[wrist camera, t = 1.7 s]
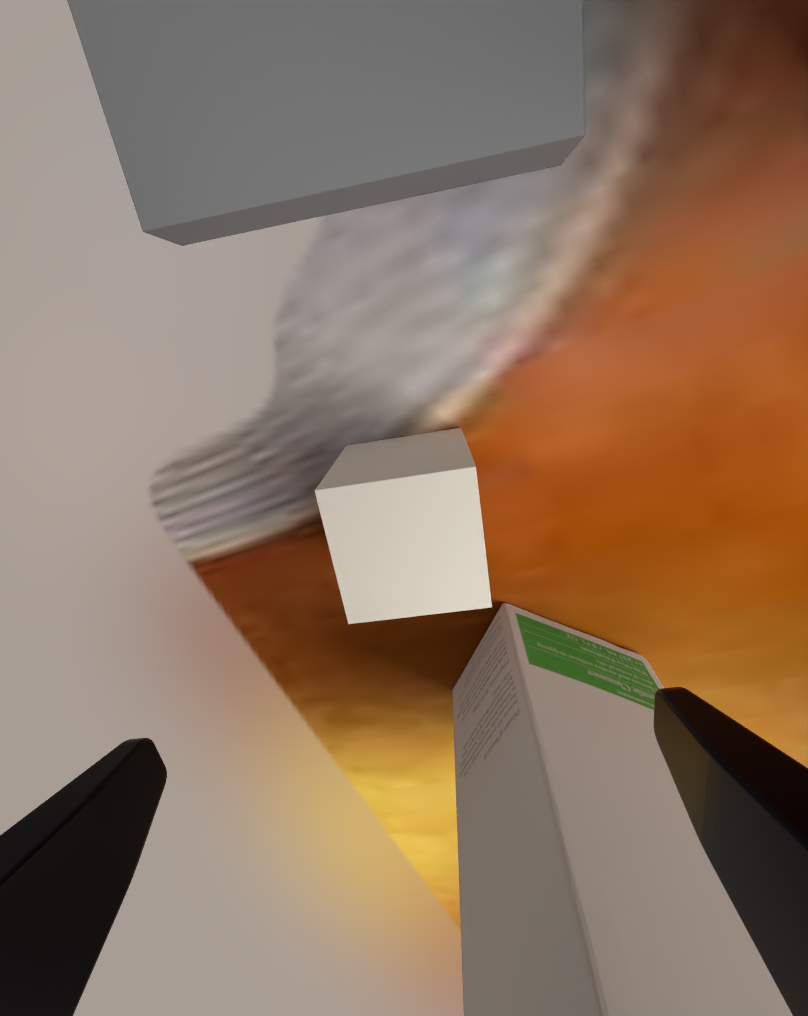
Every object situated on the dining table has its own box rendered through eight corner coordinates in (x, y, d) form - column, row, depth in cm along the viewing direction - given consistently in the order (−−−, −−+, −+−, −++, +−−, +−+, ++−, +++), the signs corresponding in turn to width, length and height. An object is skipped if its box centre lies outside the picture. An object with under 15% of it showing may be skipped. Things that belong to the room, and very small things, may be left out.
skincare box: (645, 653, 23) (1038, 1224, 8) (578, 741, 25) (791, 1306, 10) (495, 596, 22) (637, 1118, 7) (441, 692, 24) (465, 1233, 10)
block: (460, 427, 19) (475, 466, 13) (473, 533, 21) (492, 607, 15) (346, 445, 19) (314, 490, 14) (368, 547, 21) (348, 624, 16)
